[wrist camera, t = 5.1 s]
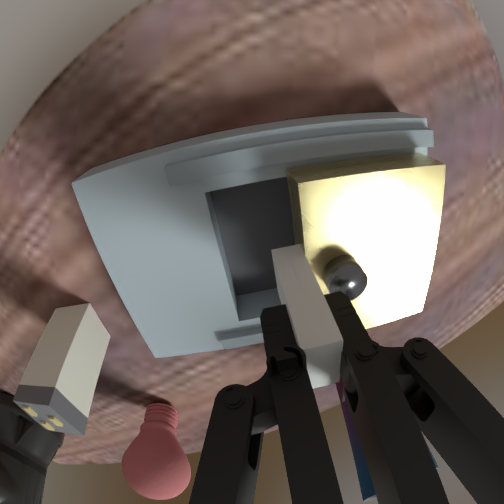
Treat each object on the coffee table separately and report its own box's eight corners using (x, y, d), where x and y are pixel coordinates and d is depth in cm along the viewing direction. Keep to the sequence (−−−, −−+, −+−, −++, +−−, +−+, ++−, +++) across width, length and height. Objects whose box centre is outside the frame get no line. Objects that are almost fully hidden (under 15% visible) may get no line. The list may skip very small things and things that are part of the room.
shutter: (301, 316, 19) (315, 358, 16) (285, 168, 14) (305, 193, 11) (405, 289, 19) (430, 322, 16) (418, 152, 14) (460, 171, 11)
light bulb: (127, 384, 27) (112, 485, 17) (192, 392, 28) (192, 497, 18) (134, 413, 30) (125, 498, 20) (190, 420, 32) (190, 506, 21)
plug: (77, 339, 23) (46, 431, 14) (55, 308, 21) (12, 402, 12) (110, 336, 23) (83, 437, 14) (89, 302, 21) (48, 408, 12)
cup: (380, 330, 26) (444, 461, 13) (384, 363, 29) (433, 473, 17) (316, 357, 27) (359, 499, 14) (330, 387, 30) (365, 502, 17)
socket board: (160, 330, 23) (154, 364, 20) (91, 168, 16) (66, 186, 13) (392, 282, 23) (412, 309, 20) (399, 111, 16) (433, 119, 13)
